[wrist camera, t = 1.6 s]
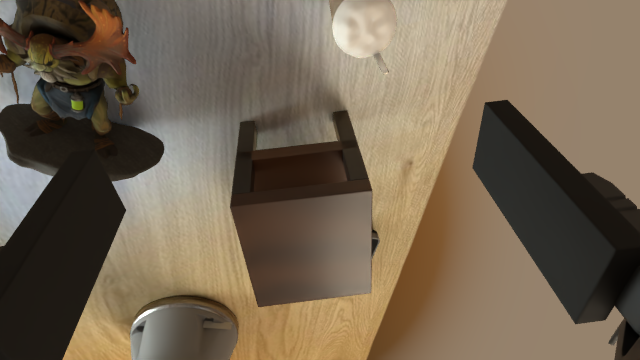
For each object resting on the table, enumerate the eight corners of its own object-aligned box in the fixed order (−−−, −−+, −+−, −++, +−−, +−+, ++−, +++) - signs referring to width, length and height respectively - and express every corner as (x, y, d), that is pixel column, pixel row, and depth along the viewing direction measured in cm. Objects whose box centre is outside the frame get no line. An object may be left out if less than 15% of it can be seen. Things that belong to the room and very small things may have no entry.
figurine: (-24, 176, 34) (-118, -44, 22) (33, 109, 41) (-14, -90, 28) (147, 211, 37) (150, 35, 25) (175, 143, 44) (189, -23, 31)
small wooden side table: (350, 205, 49) (371, 293, 39) (260, 215, 49) (258, 307, 39) (347, 110, 41) (372, 190, 31) (240, 122, 41) (229, 206, 31)
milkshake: (338, 41, 37) (356, 88, 29) (312, -16, 34) (324, 19, 26) (384, 17, 36) (416, 59, 28) (362, -44, 33) (390, -16, 25)
